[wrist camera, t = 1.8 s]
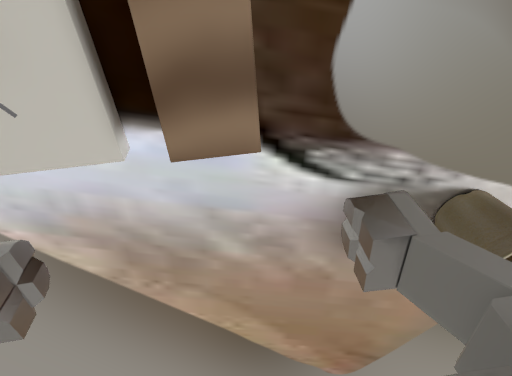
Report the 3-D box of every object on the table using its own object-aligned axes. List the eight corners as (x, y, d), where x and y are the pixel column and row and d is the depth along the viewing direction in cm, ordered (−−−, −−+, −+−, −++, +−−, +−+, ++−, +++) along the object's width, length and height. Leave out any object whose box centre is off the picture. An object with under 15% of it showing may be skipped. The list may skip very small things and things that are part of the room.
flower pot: (480, 244, 37) (542, 310, 30) (404, 246, 36) (450, 316, 29) (526, 176, 32) (613, 238, 25) (438, 176, 31) (504, 241, 24)
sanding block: (142, -23, 19) (123, -17, 15) (241, -32, 20) (248, -28, 16) (177, 129, 25) (170, 162, 21) (253, 120, 26) (261, 152, 22)
